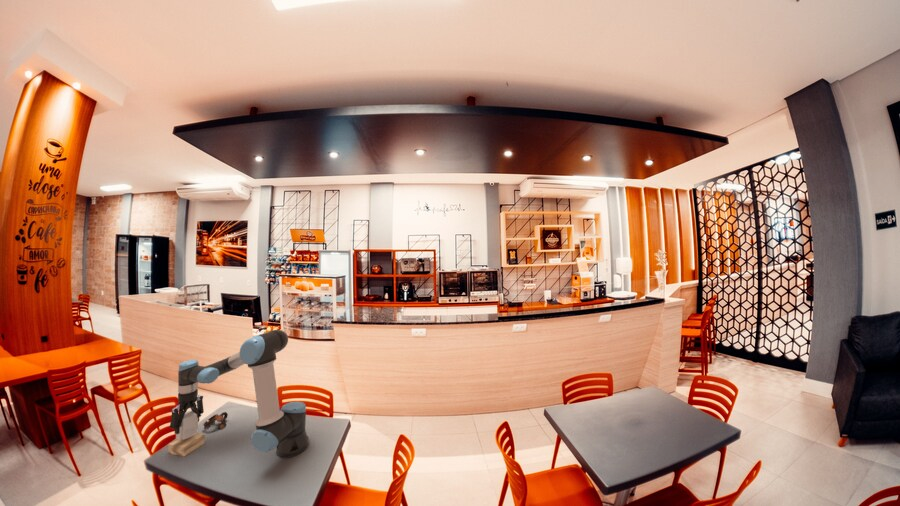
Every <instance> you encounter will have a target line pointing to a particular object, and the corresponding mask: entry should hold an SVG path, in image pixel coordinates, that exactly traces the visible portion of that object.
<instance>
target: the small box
mask: <svg viewBox="0 0 900 506" xmlns="http://www.w3.org/2000/svg"><path fill="white" fill-rule="evenodd" d="M181 426H182V439H183V440H184V439H187V438H189V437H191V436H193V435H196V434H197V433H198V429H197V414H196V413H194V412H193V411H192V410H191V409H190V410H189V411H188V410H187V411H186V412H185V415H184V417H183V419H182V423H181Z"/></svg>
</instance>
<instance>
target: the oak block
mask: <svg viewBox="0 0 900 506" xmlns="http://www.w3.org/2000/svg"><path fill="white" fill-rule="evenodd" d="M205 442H206V434H205V433H199V432H197V434H196V435H193V436H191V437H189V438H187V439H184V440H183V439H181V440H179V439H176V438H175V439H174V440H173V441H172V442H169V443H168V444H167V446H168V448H167V453H168V454H169V453H171V454H170V455H173V456H174V455H175V456H180V457H186V456H187V455H188V454H190V453H191V452H194V451H195V450H197V449H199V447H201V446H202V445H204V444H205Z"/></svg>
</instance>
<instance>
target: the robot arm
mask: <svg viewBox="0 0 900 506" xmlns="http://www.w3.org/2000/svg"><path fill="white" fill-rule="evenodd" d="M288 343H289V336H288V334H287V333H286V332H285V331H284V330H281V329H273V330H272V329H271V330H270V331H267V332H264V333H260V334H258V335H254V336H252V337H249V338H248V339H246V340H245V341H244V342H243V343H242V344H241V346H240V348H239V351H238V352H236V353H234V354H232V355H230V356H228V357H226V358H224V359H221V360H219V361H216V362H214V363H211V364H208V365H205V366H203V365H202V366H201V365H200V364H199V360H197V359H188V360H185V361H182V362H181V363H179V364H178V370H177V372H178V373H177V374H178V375H177V377H178V381H177V382H178V386H177V387H178V390H177V392H178V393H177V401H178V404H177V405H176V407H172V408H171V409H170V411H171V416H170V423H169V429H173V430H174V435H175V440H176V439H179V440H181V439H182V426H181V423H182V419H183V417H184V415H185V412H188V410H189V409H190V410H192V411H193V412H194V413H196V414H197V430H199V422H200V418H201V416H202V415H203V413H204V412H205V411H204V410H205V409H204V402H203V400H204V395H199V394H198V391H199V389H198V388H199V383H200V384H207V385H208V384H209V385H210V384H213V383H214V382H216V380H217V379H218V378H219V377H220V376H222V375H225V374H226V373H229V372H231V371H234V370H237V369H238V368H240V367H242V366H244V365H247V367H248V368H249V369H251V370H252V377H253V383H254V391H255V393H254V394H255V399H256V406H257V413H258V419H257V420H256V421H255V428H256V429H255V430H254V431H253V432H252V434H251V436H250V441H251V444H252V446H253V447H254V449H255V450H256V451H258V452H260V453H268V452H271V451H272V450H273V449H274V448H275V453H276V456H278V458H279V457H280V458H287V459H288V458H292V457H295V456H297V455H299V454H302V453H303V452H304V451H305V450H306V449H307V448H308V446H309V444H310V443H309V441H310V440H309V436H308V435H307V430H306V422H307V421H306V419H307V417H306V416H307V409H306V404H305V403H304V402H302V401H290V402H287V403H285V404H284V405H282V406H281V408H280V404H279V403H280V402H279V395H278V387H277V380H276V373H275V365H274V363H275V362H276V360H277V354H278V353H279V352H281V351H282V350H284V349H285V348H286V347H287V345H288Z"/></svg>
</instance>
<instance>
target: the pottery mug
mask: <svg viewBox="0 0 900 506" xmlns="http://www.w3.org/2000/svg"><path fill="white" fill-rule="evenodd" d="M228 415H229V413H228V412H226V411H223V412H221V413H220V414H218V413H216V414H214V415H212V416H210V418H208V420H206V421H205V422H204V423H203V424H202V426H204V427H203V430H204V429H207V430H209V428H210V427H211V426H216V422H218V423H221V425H219V429H220V430H223V429H224V428H225V427H226V425H227V423H226V419H227V418H228Z"/></svg>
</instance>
